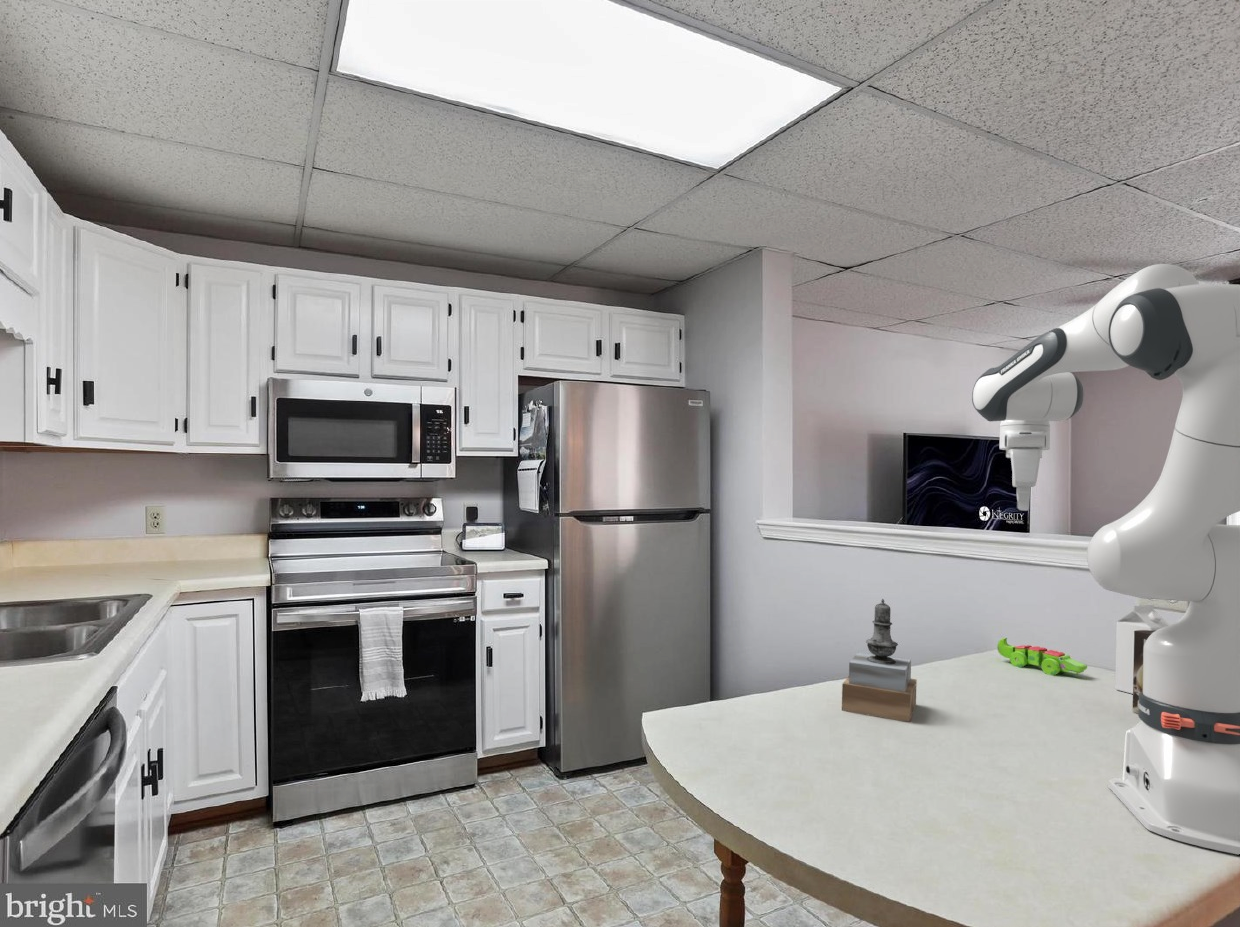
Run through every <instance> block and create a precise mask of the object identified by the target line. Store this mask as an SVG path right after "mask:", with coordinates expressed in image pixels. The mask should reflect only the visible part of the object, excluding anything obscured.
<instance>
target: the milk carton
mask: <svg viewBox="0 0 1240 927" xmlns="http://www.w3.org/2000/svg"><path fill="white" fill-rule="evenodd" d="M1154 606H1155V605H1154V604H1143V605H1141V604H1140V605H1133V607H1132V610H1133V611H1131V612H1130V613H1127V614H1126V615H1125V616H1123V617H1121V618H1120V619H1119V620H1117V621H1116V630H1115V631H1116V632H1115V635H1116V638H1115V639H1116V640H1115V683H1114V684H1115V686H1114V688H1115V690H1116V691H1121V692H1124V693H1127V694H1130V695H1133V667H1134V631H1137V630H1150V631H1152V630H1158V629H1161V628H1163V627H1166V626H1169V625H1170V623H1168V622H1167V621H1166V620H1165V619H1164V618H1163V617H1162V616H1161V615H1160V614H1159V613H1158V612H1157V611H1156V610H1155V608H1154Z"/></svg>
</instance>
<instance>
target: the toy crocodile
mask: <svg viewBox="0 0 1240 927" xmlns="http://www.w3.org/2000/svg"><path fill="white" fill-rule="evenodd" d="M1007 639H1008V637H1004V638H1001V639H1000V640H999V641H998V642H997V646H996V647H997V651H998V654H1000V655H1001V656H1002V657H1004V658H1006V659H1009V662H1010V663H1011V665H1012V666H1013V667H1015V668H1016V667H1017V668H1023V667H1024V668H1025V667H1026V665H1028V666H1038V667H1041V670H1042V672H1044V673H1045V674H1046V675H1049V676H1055V675H1058V674H1059V673H1069V674H1074V675H1077V674H1082V673H1084V671H1085V670H1087V669H1088V665H1087V664H1085V663H1081V662H1079V661H1077V660H1075V659H1073V658H1071V656H1070V655H1069V654H1066V653H1065V652H1060V651H1058V650H1054V649H1049V650H1048V648H1046V647H1041V646H1032V645H1031V644H1030V645H1029V644H1028V645H1019V646H1016V645H1010V644H1009V643H1008V642H1007Z"/></svg>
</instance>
